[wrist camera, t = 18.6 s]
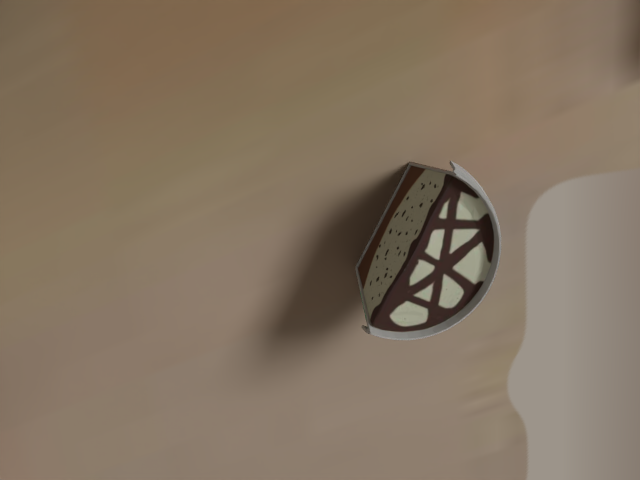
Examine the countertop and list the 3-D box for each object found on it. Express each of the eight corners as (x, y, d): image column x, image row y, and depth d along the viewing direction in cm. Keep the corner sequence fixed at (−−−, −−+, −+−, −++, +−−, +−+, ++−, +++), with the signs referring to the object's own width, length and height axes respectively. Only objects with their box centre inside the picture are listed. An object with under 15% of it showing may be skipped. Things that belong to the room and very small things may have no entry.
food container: (413, 312, 48) (449, 375, 38) (346, 284, 47) (366, 341, 37) (488, 177, 45) (547, 208, 36) (419, 143, 44) (461, 166, 34)
